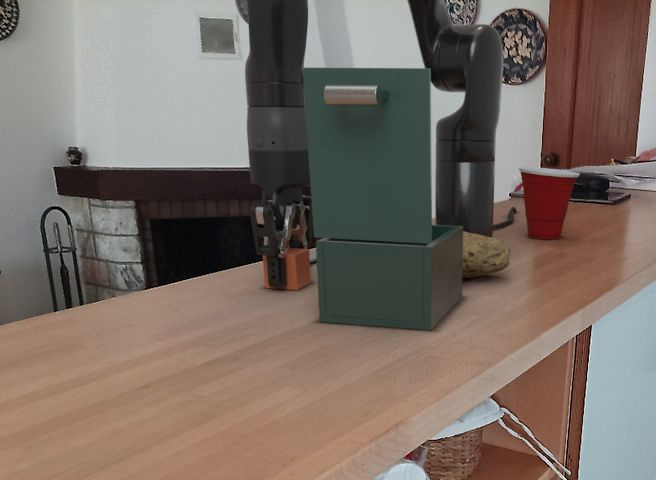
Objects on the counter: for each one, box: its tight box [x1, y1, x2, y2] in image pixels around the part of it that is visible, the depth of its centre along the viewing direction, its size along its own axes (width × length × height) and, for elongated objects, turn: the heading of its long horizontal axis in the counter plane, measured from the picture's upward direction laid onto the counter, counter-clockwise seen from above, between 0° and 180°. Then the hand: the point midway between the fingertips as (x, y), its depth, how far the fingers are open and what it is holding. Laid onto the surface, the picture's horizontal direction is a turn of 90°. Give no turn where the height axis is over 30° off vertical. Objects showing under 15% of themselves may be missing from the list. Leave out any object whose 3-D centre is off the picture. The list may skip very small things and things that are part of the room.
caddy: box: [315, 223, 463, 331], centre depth 90 cm, size 16×13×9 cm
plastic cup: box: [518, 166, 581, 240], centre depth 140 cm, size 11×11×12 cm
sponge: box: [462, 231, 511, 279], centre depth 107 cm, size 13×8×20 cm
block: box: [262, 247, 312, 291], centre depth 101 cm, size 4×4×4 cm
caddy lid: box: [302, 67, 433, 244], centre depth 75 cm, size 16×13×5 cm
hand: (288, 281), depth 102 cm, fingers open, 5 cm apart
